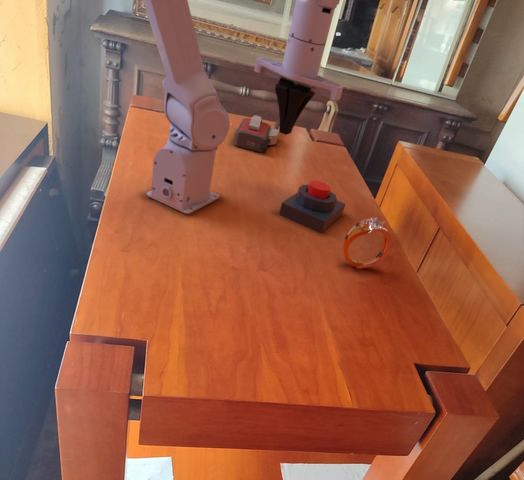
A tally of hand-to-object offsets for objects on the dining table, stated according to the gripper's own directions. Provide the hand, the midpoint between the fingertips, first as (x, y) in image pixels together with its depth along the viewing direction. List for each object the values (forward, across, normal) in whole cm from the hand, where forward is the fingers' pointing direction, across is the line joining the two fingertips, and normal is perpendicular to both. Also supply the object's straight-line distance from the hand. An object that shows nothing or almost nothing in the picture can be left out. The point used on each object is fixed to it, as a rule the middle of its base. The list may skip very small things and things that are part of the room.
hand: (285, 132), depth 82 cm
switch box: (+10, -9, +2) cm, 14 cm away
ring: (+11, -22, +13) cm, 27 cm away
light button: (+7, -9, +2) cm, 12 cm away
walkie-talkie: (+11, +15, -23) cm, 30 cm away
